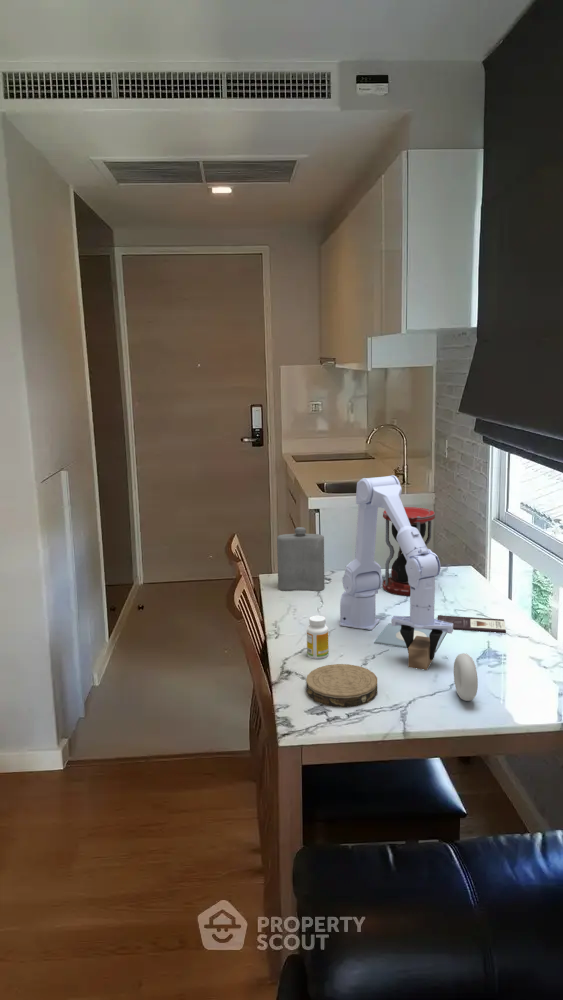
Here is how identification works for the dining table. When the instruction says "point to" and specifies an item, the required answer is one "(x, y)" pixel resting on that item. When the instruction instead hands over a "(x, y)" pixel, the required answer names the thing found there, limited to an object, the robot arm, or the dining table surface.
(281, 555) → the flask
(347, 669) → the wooden log slice
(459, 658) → the donut
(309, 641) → the supplement bottle
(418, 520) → the hourglass
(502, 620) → the chocolate bar
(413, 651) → the walnut block
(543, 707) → the dining table surface
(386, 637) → the rubber mat
